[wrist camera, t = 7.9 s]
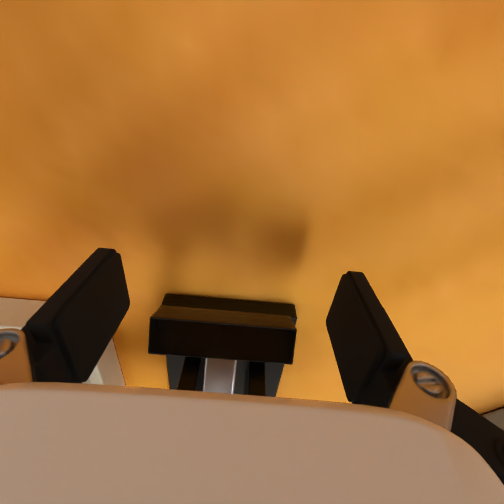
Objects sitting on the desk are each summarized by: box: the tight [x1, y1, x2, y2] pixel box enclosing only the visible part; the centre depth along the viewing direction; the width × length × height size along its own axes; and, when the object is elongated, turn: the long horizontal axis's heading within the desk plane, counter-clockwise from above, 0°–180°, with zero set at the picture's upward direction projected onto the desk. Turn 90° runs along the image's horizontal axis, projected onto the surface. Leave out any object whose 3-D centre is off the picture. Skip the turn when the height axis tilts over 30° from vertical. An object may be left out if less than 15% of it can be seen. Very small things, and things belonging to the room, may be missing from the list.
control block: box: [0, 297, 125, 386], centre depth 17 cm, size 9×8×4 cm
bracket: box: [160, 294, 297, 397], centre depth 14 cm, size 11×8×12 cm
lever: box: [148, 305, 297, 394], centre depth 10 cm, size 12×5×2 cm, turn 174°
